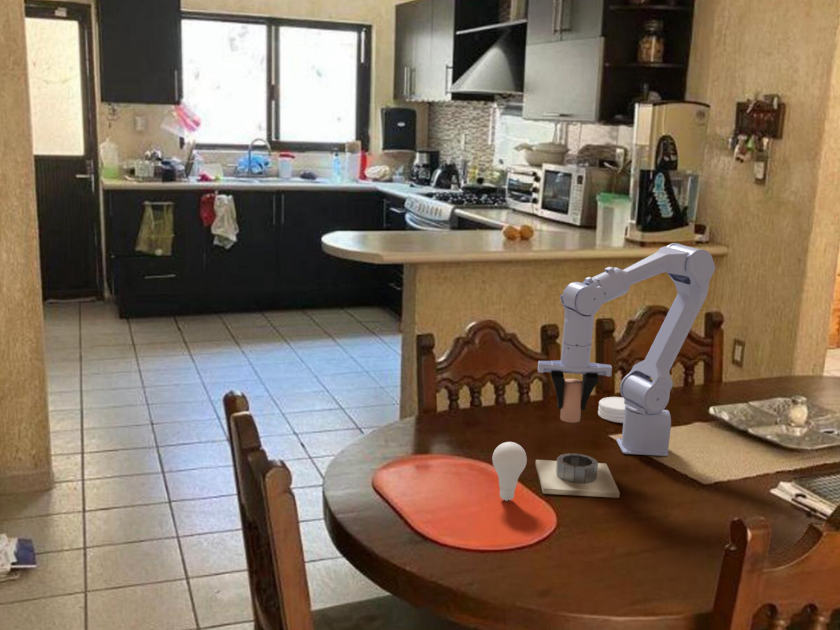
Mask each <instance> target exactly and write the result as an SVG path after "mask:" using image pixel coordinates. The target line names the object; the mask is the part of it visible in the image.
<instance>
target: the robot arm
mask: <svg viewBox="0 0 840 630" xmlns="http://www.w3.org/2000/svg"><path fill="white" fill-rule="evenodd" d="M715 270H716V265H715V261H714V259H713V256H712V255H711V252H710V251H708V250H706V249H704V248H695V247H692V246H688V245H684V244H681V243H678V242H674V243H670V244H668V245H666V246H665V245H664V246H662V247H660V248H659V249H658V250H657V251H656V252H655V253H653V254H651V255H649V256H647V257H645V258H643V259H640V260H639V261H637V262H635V263H633V264H631V265H629V266H627V267H625V268H624V269H621V268H619V267H612V266H608V267H605V268H604V271H603V272H601V273H599V274H596V275H594V276H593V277H591V276H588V277H586V278H584V280H583V282H580V281H574V282H570V283H568V285H566V287H565V288H564V289H563V293H562V294H560V295H559V298H560V303H561V305H562V307H563V309H564V311H563V312H564V319H563V321H564V322H563V329H562V332H563V333H562V343H561V344H562V345H561V355H560V359H559V360H538V362H537V372H538V374H539V373H540V374H541V373H543V374H544V373H549V374H550V377H551V379H552V382H553V385H554V389H555V393H556V400H557V401H556V403H557V408H558V409H560V410H561V409H562V404H563V388H564V381H565V379H566V378H565V375H564V374H577V375H582V381H583V393H582V404H581V411H585V410H586V407H587V403H588V401H589V398H590V396H591V395H592V394H591V393H592V392H593V391H594V389H595V388H596V386H597V384H598V383H599V376H605V377H612V372H613V371H612V370H613V367H612V365H611V364H606V363H605V364H604V363H597V362H592V361H591V354H592V353H591V352H592V343H593V342H592V341H593V330H594V323H595V322H594V321H595V314H597V313H598V311H600V309H601V307H602V305H604V304H606V303H609V302H611V301H612V300H616V299H617V298H620V297H621V296H624V295H626V294H627V293H628V292H629V290H630V287H631V286H632V285H634V284H637V283H640V282H642V281H645V280H647V279H650V278H652V277H655V276H658V275H660V274H663V273H665V274H666V273H667V275H668V277H669V278H670V279H671V281H672V283H674V286H675V290H676V292H677V294H676V296H675V298H674V300H673V302H672V304H671V306H670V307H669V310H668V312H667V313H666V316H665V318H664V321H663V322H662V324H661V326H660V329H658V332H657V334H656V336H655V338H654V341H653V342H652V344H651V346H650V348H649V351H648V352H647V354H646V356H645V358H644V360H641V361H639V362H638V363H635V364H634V365H633V366H632V368H631V370H630V371H629V373H627V374H626V375H625V376H624V377H623V378H622V380H621V381H620V385H619V392H620V395H621V397H622V398H624V404H625V412H624V422H623V423H622V431H621V432H622V433H621V434H622V435H621V438H616V440H615V441H616V443H617V445H618V446H619V448H620V450H621V452H622V453H623V454H625V455H637V456H638V455H640V456H641V455H642V456H659V457H669V455H670V454H669V445H670V440H671V439H670V437H671V430H672V417H671V416H672V415H671V414H670V411H669V410H668V409H665V408H666V407H667V406H668V404H669V400H670V393H671V390H672V388H673V385H674V381H673V380H672V376H671V373H670V370H671V369H672V366H673V365H674V362H675V360H676V359H677V357H678V354H679V353H680V351H681V349H682V347H683V344H684V343H685V340H686V339H687V337H688V336H689V335H688V334H689V333H690V331H691V329H692V327H693V325H694V323H695V320H696V318H697V317H698V315H699V313H700V311H701V309H702V307H703V305H704V303H705V301H706V298H707V296H708V293H709V287H710V281H711V278H712V277H713V276H714V273H715ZM650 378H651V379H650Z"/></svg>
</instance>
